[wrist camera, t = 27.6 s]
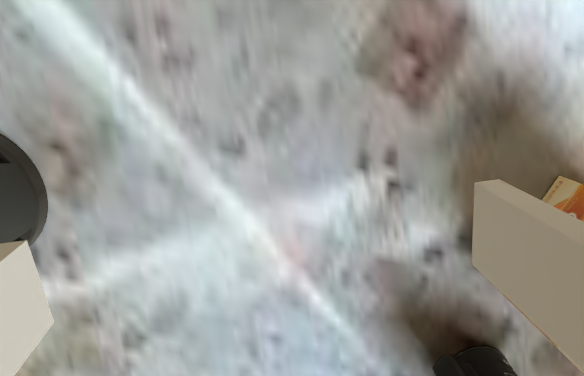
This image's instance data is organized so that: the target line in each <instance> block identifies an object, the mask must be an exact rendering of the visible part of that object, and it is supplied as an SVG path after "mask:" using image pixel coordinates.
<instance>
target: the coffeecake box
mask: <svg viewBox="0 0 584 376" xmlns="http://www.w3.org/2000/svg"><path fill="white" fill-rule="evenodd" d="M542 201H544V202H545V203H547V204H549V205H551V206H553V207H555V208H557V209H559V210H561V211H563V212H565V213H567V214H569V215H571V216H573V217H575V218H577V219H579V220H581V221H583V222H584V185H583V184H580V183H578V182H575V181H573V180H570V179H568V178H565V177H562V176H558V178H557V179H556V181H555V182H554V183H553V185H552V186H551V188H550V189H549V191H548V192H547V193H546V195H545V196H544V198H543V199H542ZM499 291H500V290H499ZM500 292H501V291H500ZM501 293H502V292H501ZM502 294H503V293H502ZM503 295H504V294H503ZM504 296H505V295H504ZM505 297H506V296H505ZM506 298H507V297H506ZM507 299H508V298H507ZM508 300H509V299H508ZM509 301H510V300H509ZM510 302H511V301H510ZM511 303H512V302H511ZM512 304H513V303H512ZM513 305H514V304H513ZM514 306H515V305H514ZM515 307H516V306H515ZM516 308H517V307H516ZM517 309H518V308H517ZM518 310H519V309H518ZM519 311H520V310H519ZM520 312H521V311H520ZM521 313H522V312H521ZM522 314H523V315H524V316H525V317H526V318H527V319H528V320H529V321H530V322H531V323H532V324H533V325H534V326H535V327H536V328H537V329H538V330H539V331H540V332H542V331H541V330H540V329H539V328H538V327H537V326H536V325H535V324H534V323H533V322H532V321H531V320H530V319H529V318H528V317H527V316H526V315H525V314H524V313H522ZM542 333H543V332H542ZM543 334H544V333H543ZM544 335H545V334H544ZM545 336H546V335H545ZM546 337H547V338H548V339H549V340H550V341H551V342H552V343H553V344H554V345H555V346H556V347H557V348H558V349H559V350H560V351H561V352H562V353H563V354H564V355H565V356H566V357H567V358H568V359H569V360H570V361H571V362H572V363H573V364H574V365H575V366H576V367H577V368H578V369H579V370H580V371H581V372H582V373H584V371H583V370H582V369H581V368H580V367H579V366H578V365H577V364H576V363H575V362H574V361H573V360H572V359H570V358H569V357H568V356H567V355H566V354H565V353H564V352H563V351H562V350H561V349H560V348H559V347H558V346H557V345H556V344H555V343H554V342H553V341H552V340H551V339H550V338H549V337H548V336H546Z"/></svg>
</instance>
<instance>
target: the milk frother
mask: <svg viewBox="0 0 584 376" xmlns="http://www.w3.org/2000/svg"><path fill="white" fill-rule="evenodd" d="M433 371H434V373H435V375H436V376H517V375H516V373H515V372H514V371H513V368H512V367H511V366H510V365H509V364H508V361H507V359H506V358H505V356H504V355H503V354H502V353H501V352H499V351H498V350H496V349H494V348H490V347H483V346H482V347H473V348H470V349H467V350H465V351H463V352H461V353H459V354H457V355H456V356H455V357H454V358H453V357H452V356H450V355H447V354H446V355H443V356H442V357H441V358H440V359H439V360H438V361H437V362H436V363H435V365H434V366H433Z"/></svg>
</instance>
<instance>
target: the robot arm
mask: <svg viewBox="0 0 584 376" xmlns="http://www.w3.org/2000/svg"><path fill="white" fill-rule="evenodd" d="M47 212H48V200H47V193H46V189H45V186H44V183H43V180H42V178H41V176H40V174H39V172H38V170H37V169H36V167H35V165H34V164H33V163H32V161H31V160H30V159H29V158H28V156H27V155H26V154H25V153H24V152H23V151H22V150H21V149H20V148H18V147H17V146H16V145H15V144H14V143H12V142H11V141H9V140H8V139H6V138H5V137H3V136H1V135H0V376H14V375H15V374H16V373H17V371H18V370H19V369H20V367H21V366H22V365H23V363H24V362H25V361H26V359H27V358H28V357H29V355H30V354H31V353H32V351H33V350H34V349H35V347H36V346H37V345H38V343H39V342H40V341H41V339H42V338H43V337H44V335H45V334H46V333H47V331H48V330H49V328H50V327H51V326H52V324H53V323H54V320H53V317H52V314H51V311H50V308H49V305H48V302H47V299H46V296H45V293H44V290H43V287H42V284H41V281H40V278H39V275H38V272H37V269H36V266H35V263H34V260H33V257H32V254H31V251H30V248H29V247H30V246H31V245H32V244H33V243H34V242H35V240H36V239H37V238H38V237H39V235H40V233H41V232H42V230H43V227H44V225H45V222H46V218H47ZM472 265H473V266H474V267H476V268H477V269H478V270H479V271H480V272H481V273H482V274H483V275H484V276H485V277H486V278H487V279H488V280H489V281H490V282H491V283H492V284H493V285H494V286H495V287H496V288H497V289H498V290H500V291H501V292H502V293H503V294H504V295H505V296H506V297H507V298H508V299H509V300H510V301H511V302H512V303H513V304H514V305H515V306H516V307H517V308H518V309H519V310H520V311H521V312H522V313H524V314H525V315H526V316H527V317H528V318H529V319H530V320H531V321H532V322H533V323H534V324H535V325H536V326H537V327H538V328H539V329H540V330H541V331H542V332H543V333H544V334H545V335H546V336H548V337H549V338H550V339H551V340H552V341H553V342H554V343H555V344H556V345H557V346H558V347H559V348H560V349H561V350H562V351H563V352H564V353H565V354H566V355H567V356H568V357H569V358H570V359H572V360H573V361H574V362H575V363H576V364H577V365H578V366H579V367H580V368H581V369H582V370H583V371H584V222H583V221H581V220H579V219H577V218H575V217H573V216H571V215H569V214H567V213H565V212H563V211H561V210H559V209H557V208H555V207H553V206H551V205H549V204H547V203H545V202H544V201H542V200H540V199H538V198H536V197H534V196H532V195H530V194H528V193H526V192H524V191H522V190H520V189H518V188H516V187H514V186H512V185H510V184H508V183H506V182H504V181H502V180H500V179H496V180H488V181H480V182H474V210H473V239H472Z"/></svg>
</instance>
